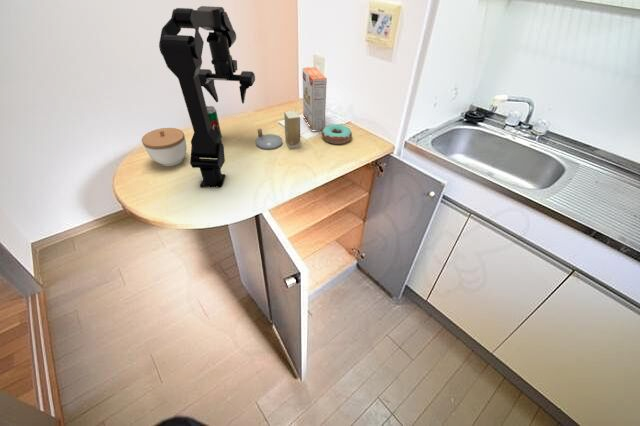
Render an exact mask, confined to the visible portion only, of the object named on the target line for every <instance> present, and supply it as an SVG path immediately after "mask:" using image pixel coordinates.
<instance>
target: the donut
mask: <svg viewBox="0 0 640 426" xmlns="http://www.w3.org/2000/svg"><path fill="white" fill-rule="evenodd" d="M352 136H353V134H352V131H351V129H350V128H349V126H347V125H343V124H337V123H335V124H332V123H331V124H328V125H325V127H324V129H323V130H322V131H321V137H322V139H323V140H324V141H326V142H327V143H328V144H329V143H330V144H333V145H342V144H345V143H348V142H349V141H350V140H351V139H352Z"/></svg>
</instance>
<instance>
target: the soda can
mask: <svg viewBox="0 0 640 426" xmlns="http://www.w3.org/2000/svg"><path fill="white" fill-rule="evenodd" d="M206 107H207V111H208V115H209V119H210V123H211V127H212V128H213V129H214V130H218V131H219V132H220V137H221V139H222V138H223V136H222V130H221V127H220V122H219V118H218V117H219V116H218V113H217V109H216V108H215V106H214V105H213V106H212V105H206Z"/></svg>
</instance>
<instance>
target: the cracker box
mask: <svg viewBox="0 0 640 426" xmlns="http://www.w3.org/2000/svg"><path fill="white" fill-rule="evenodd" d="M326 100H327V78H326V76H325V75H324V74H323V73H322V72H321V71H320V70H319V69H318V68H317V66H313V67H302V105H303V106H302V109H303V111H302V113H303V115H302V116H304V117H305V119H306V120H307V122H308V124H309V125H310V128H311V129H312V130H320V131H319V132H322V130H323V129H324V127H326V106H327V105H326V104H327V101H326ZM305 119H304V120H305ZM308 124H307V125H308ZM310 128H309V129H310ZM311 129H310V130H311Z"/></svg>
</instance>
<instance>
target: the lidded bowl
mask: <svg viewBox="0 0 640 426" xmlns="http://www.w3.org/2000/svg"><path fill="white" fill-rule="evenodd" d="M141 143H142V145H143V146H144V149H145V151H146V153H147V154H148V156H149V157H150V159H152V160H153V161H154V162H156V163H158V164H159V165H161V166H163V167H175V166H177V165H180V164H181V163H182V162H183V160H184V158H185V157H186V154H187V151H188V149H187V147H188V146H187V140H186V137H185V133H184V131H183V130H181V129H179V128H176V127H162V128H156V129H154V130H151V131H149V132H147V133H145V134H144V135H143V136H142V138H141Z"/></svg>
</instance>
